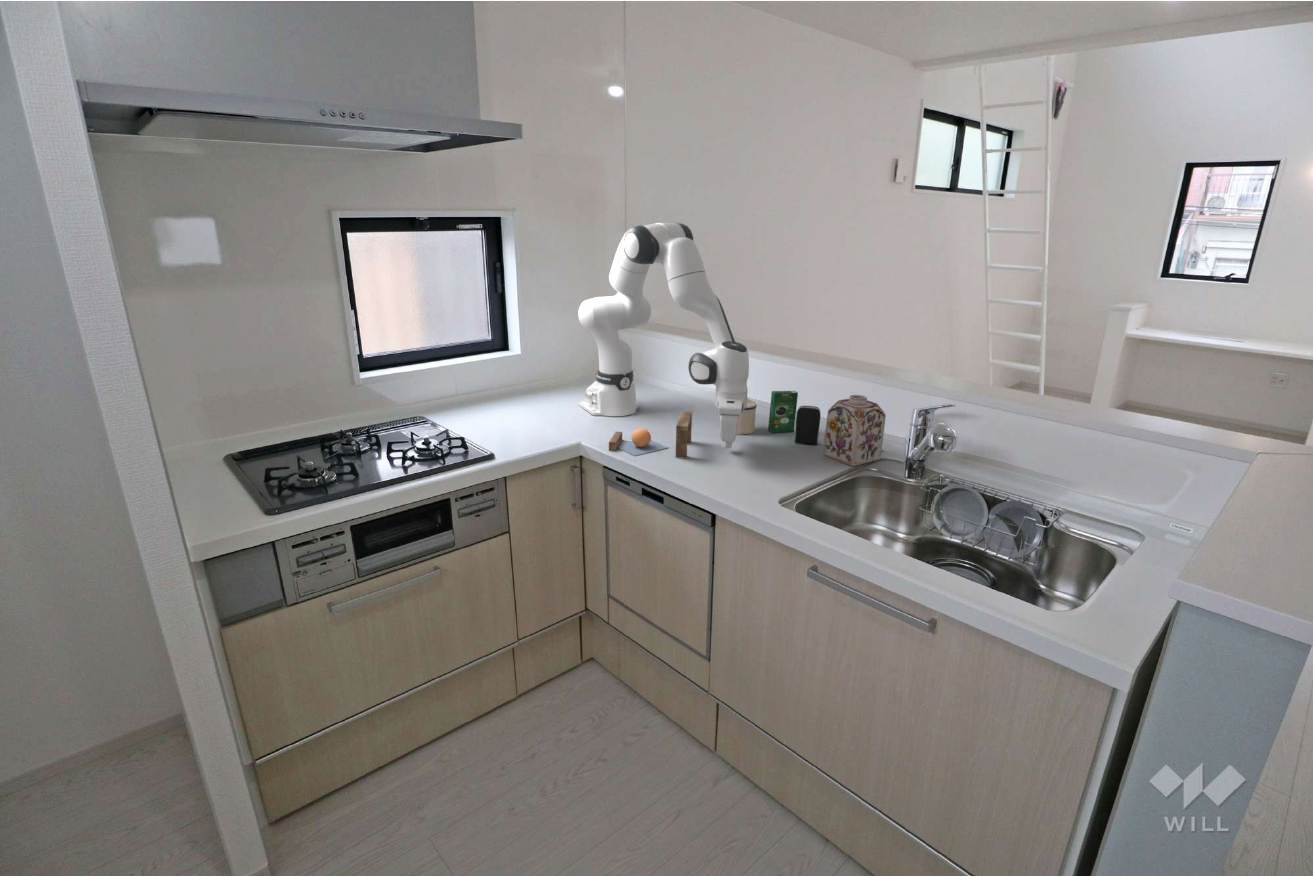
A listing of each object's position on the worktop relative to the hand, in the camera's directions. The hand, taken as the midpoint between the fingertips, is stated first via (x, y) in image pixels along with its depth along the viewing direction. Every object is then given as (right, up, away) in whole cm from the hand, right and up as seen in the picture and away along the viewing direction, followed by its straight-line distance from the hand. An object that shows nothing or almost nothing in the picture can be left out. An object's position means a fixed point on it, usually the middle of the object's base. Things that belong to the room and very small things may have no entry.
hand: (728, 446), depth 194 cm
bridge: (-13, -1, +2) cm, 13 cm away
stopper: (-33, 0, +5) cm, 33 cm away
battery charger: (+24, +1, +10) cm, 26 cm away
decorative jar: (+35, -3, -2) cm, 35 cm away
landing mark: (-26, 0, +4) cm, 26 cm away
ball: (-25, +3, +3) cm, 25 cm away
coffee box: (+19, +4, +20) cm, 28 cm away
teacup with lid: (+5, +5, +20) cm, 21 cm away
